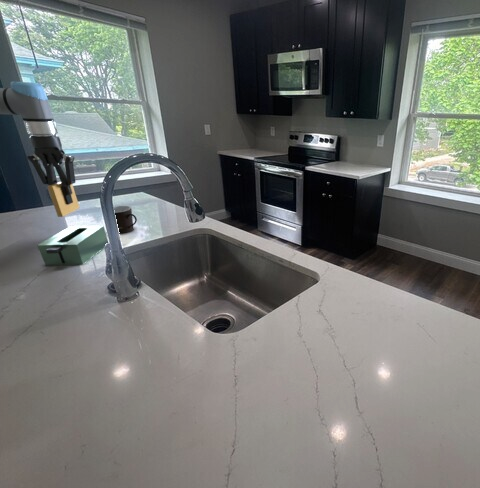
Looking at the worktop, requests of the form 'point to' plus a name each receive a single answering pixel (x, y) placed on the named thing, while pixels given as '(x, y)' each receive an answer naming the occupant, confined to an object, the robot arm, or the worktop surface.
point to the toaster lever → (54, 250)
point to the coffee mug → (124, 219)
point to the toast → (62, 200)
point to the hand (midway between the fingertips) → (66, 203)
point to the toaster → (74, 245)
